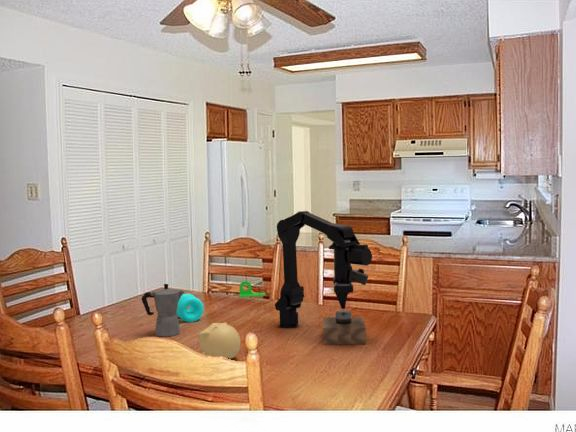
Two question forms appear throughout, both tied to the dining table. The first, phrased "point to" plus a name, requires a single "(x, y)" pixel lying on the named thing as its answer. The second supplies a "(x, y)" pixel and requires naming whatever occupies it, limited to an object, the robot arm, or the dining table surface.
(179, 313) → the donuts
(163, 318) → the coffeepot
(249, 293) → the mechanical part
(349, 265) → the robot arm
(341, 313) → the steel pin
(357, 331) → the block
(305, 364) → the dining table surface
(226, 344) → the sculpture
